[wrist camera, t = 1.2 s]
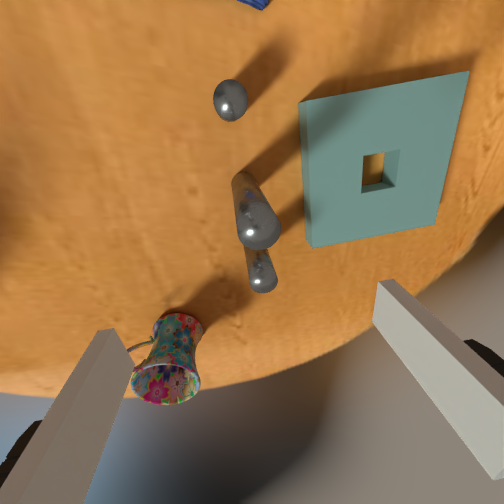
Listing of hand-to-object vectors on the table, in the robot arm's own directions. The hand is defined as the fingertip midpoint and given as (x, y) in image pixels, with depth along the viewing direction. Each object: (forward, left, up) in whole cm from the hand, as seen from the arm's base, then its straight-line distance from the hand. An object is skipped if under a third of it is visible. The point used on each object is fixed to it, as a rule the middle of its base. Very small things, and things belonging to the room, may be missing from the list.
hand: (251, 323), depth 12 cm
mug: (+20, -15, -23) cm, 34 cm away
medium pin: (+7, +2, -23) cm, 24 cm away
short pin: (-11, +2, -23) cm, 25 cm away
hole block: (-1, +19, -23) cm, 30 cm away
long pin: (-2, +2, -23) cm, 23 cm away
